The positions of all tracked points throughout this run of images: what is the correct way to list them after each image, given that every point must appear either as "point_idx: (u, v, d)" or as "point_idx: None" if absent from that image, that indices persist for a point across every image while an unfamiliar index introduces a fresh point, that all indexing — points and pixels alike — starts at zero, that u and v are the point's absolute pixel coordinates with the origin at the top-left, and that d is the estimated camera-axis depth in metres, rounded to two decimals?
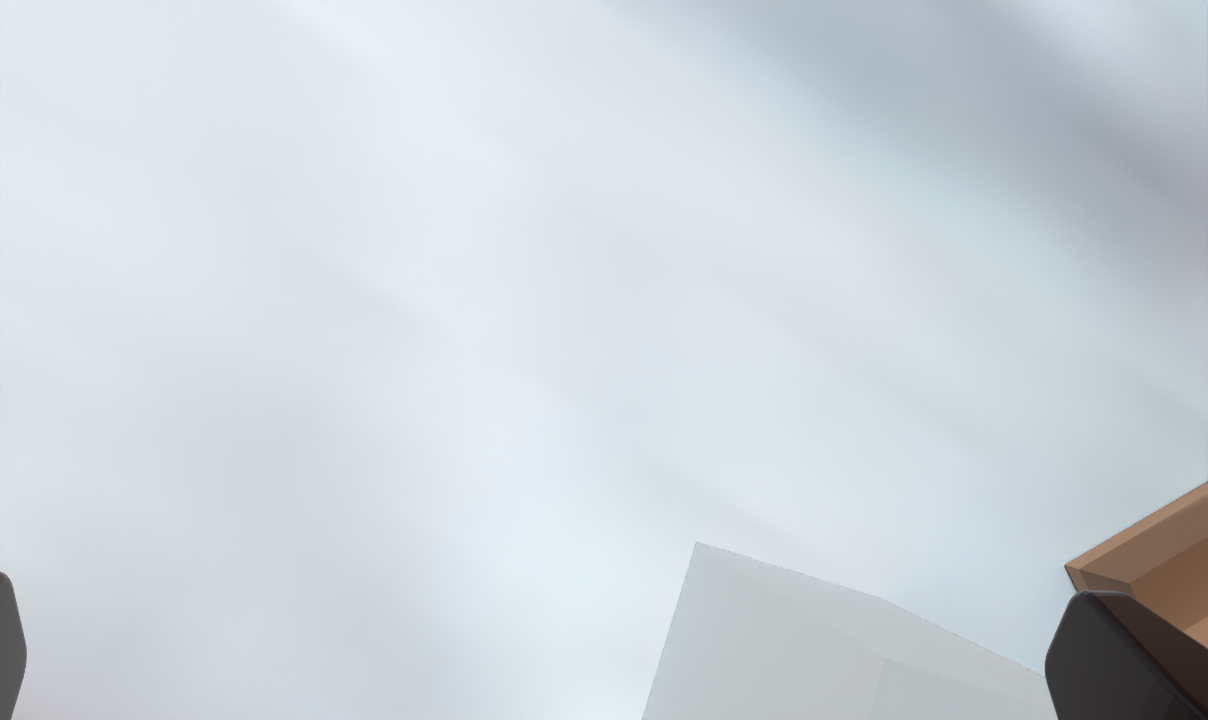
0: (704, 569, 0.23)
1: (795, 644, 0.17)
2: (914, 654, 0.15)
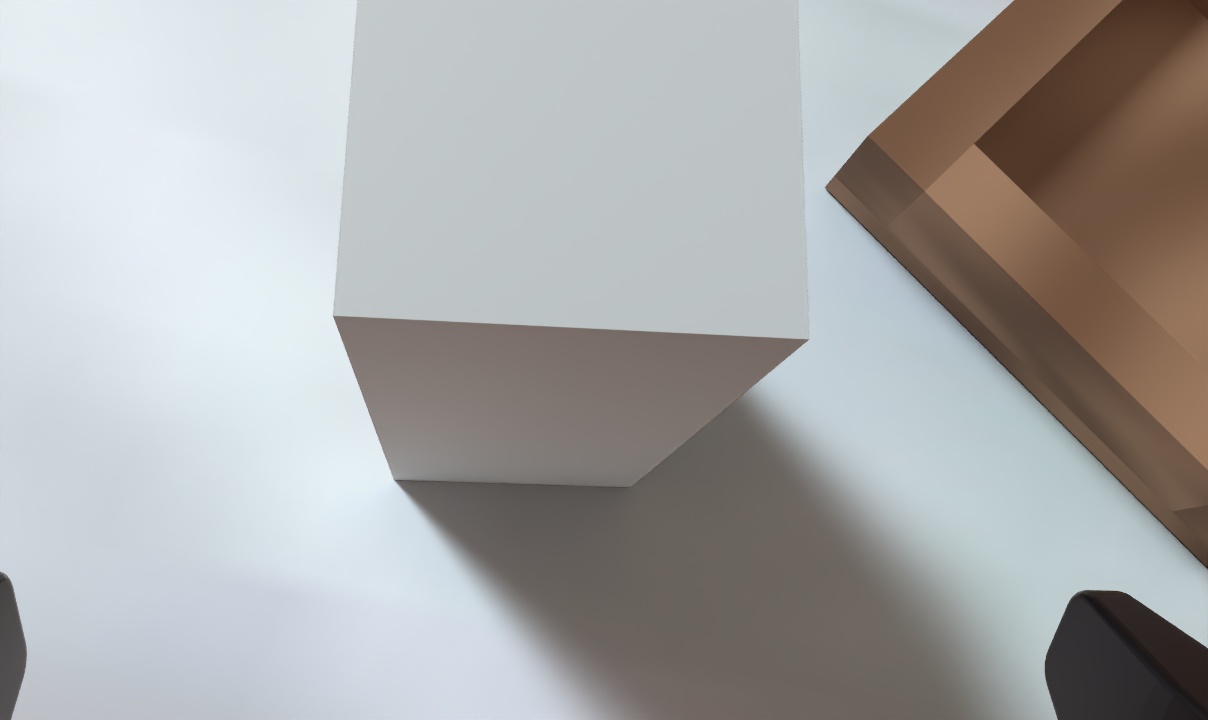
0: None
1: None
2: None
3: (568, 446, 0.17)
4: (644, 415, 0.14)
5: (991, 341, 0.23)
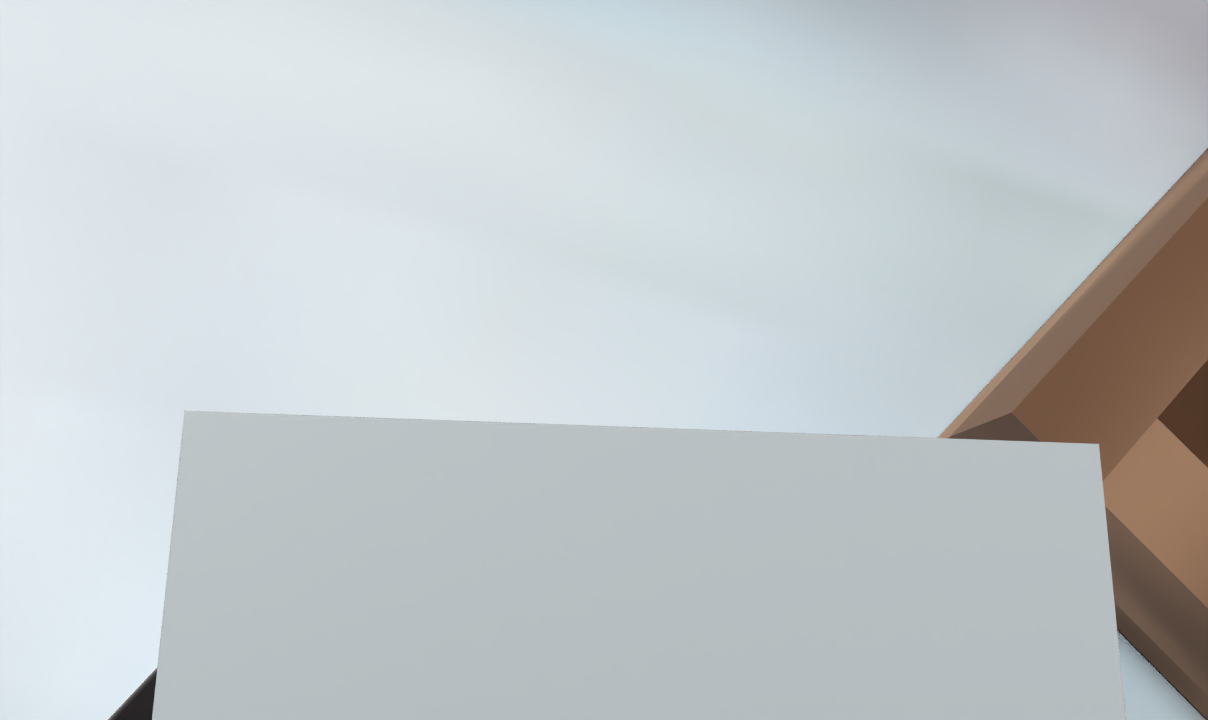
0: None
1: None
2: None
3: None
4: None
5: (1165, 664, 0.16)
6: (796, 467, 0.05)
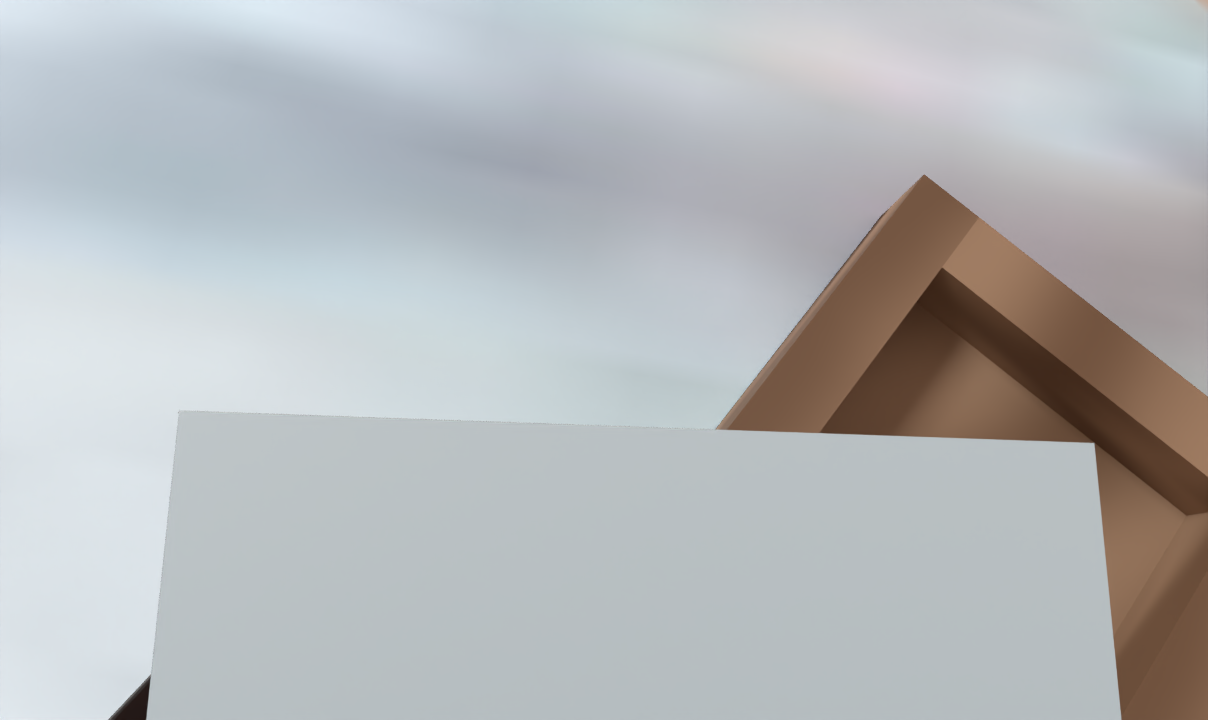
0: None
1: None
2: None
3: None
4: None
5: None
6: (792, 466, 0.05)
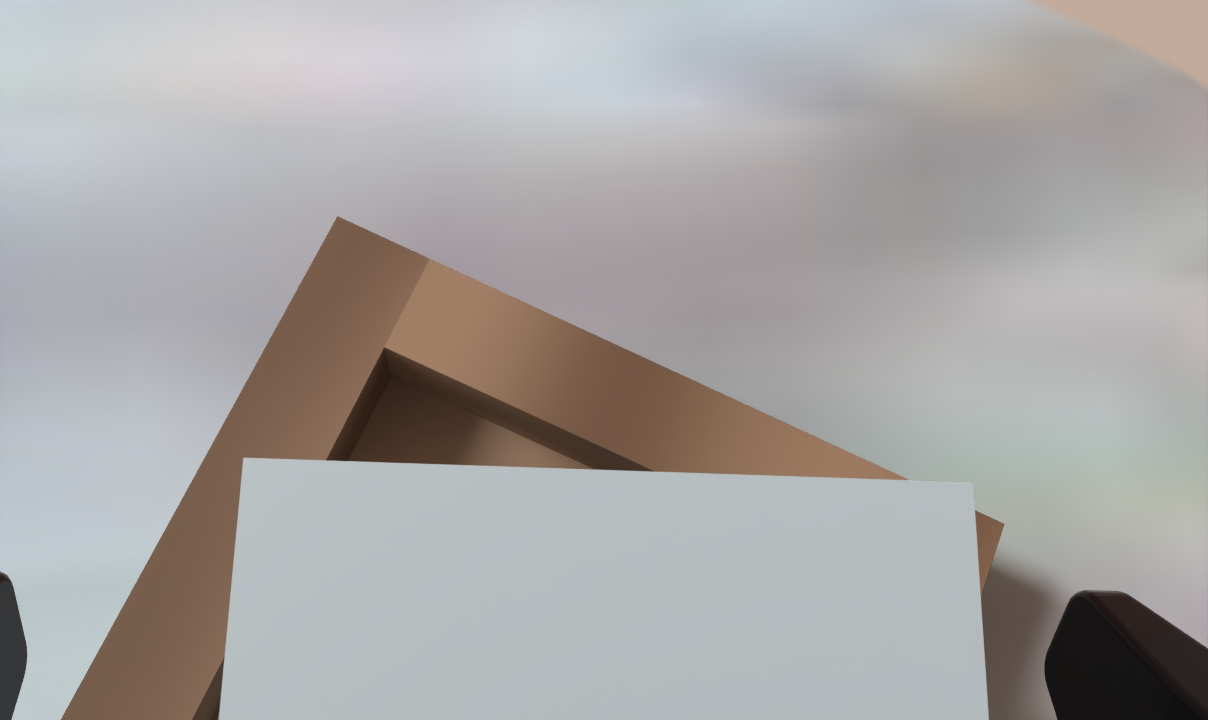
0: None
1: None
2: None
3: None
4: None
5: None
6: (728, 501, 0.07)
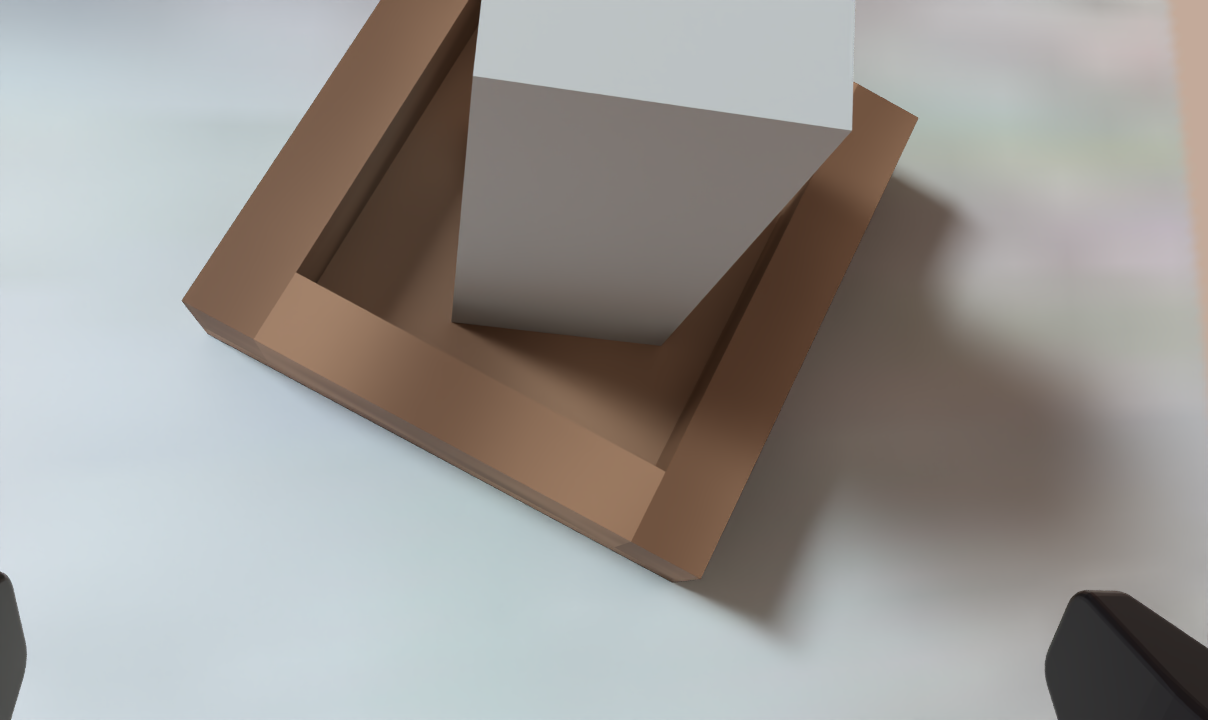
0: None
1: None
2: None
3: (620, 276, 0.19)
4: (696, 232, 0.17)
5: (406, 438, 0.23)
6: None
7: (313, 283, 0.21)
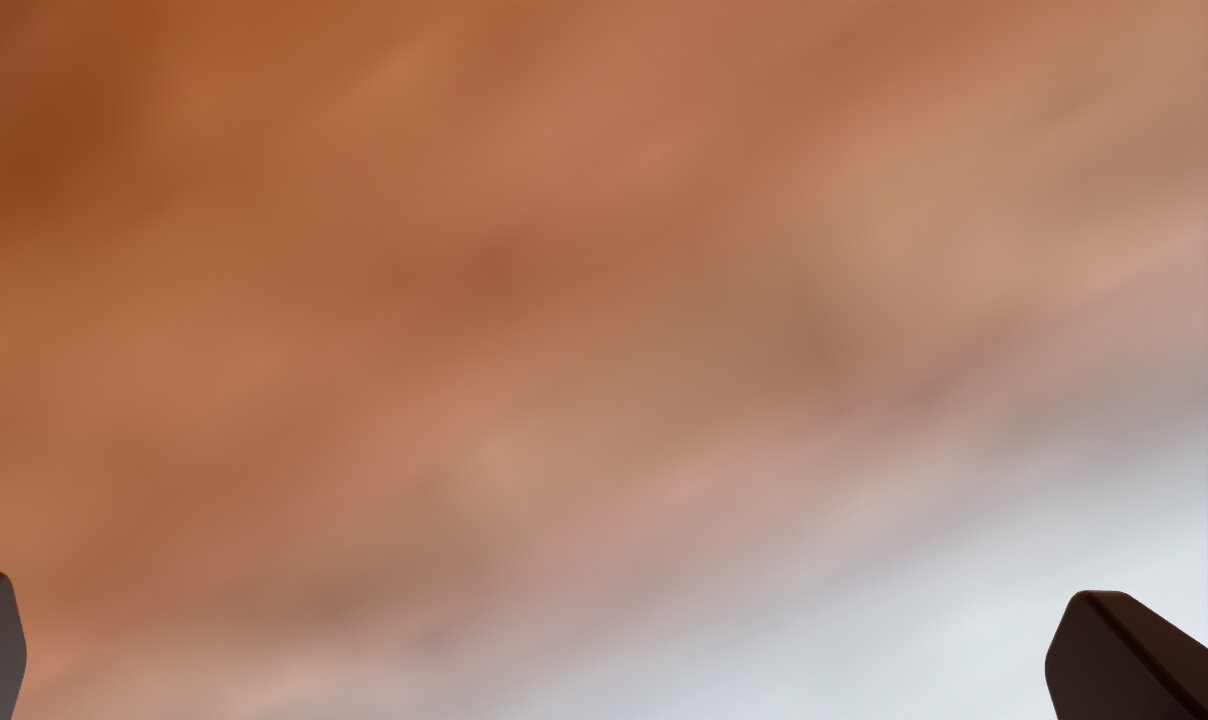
0: None
1: None
2: None
3: None
4: None
5: None
6: None
7: None
